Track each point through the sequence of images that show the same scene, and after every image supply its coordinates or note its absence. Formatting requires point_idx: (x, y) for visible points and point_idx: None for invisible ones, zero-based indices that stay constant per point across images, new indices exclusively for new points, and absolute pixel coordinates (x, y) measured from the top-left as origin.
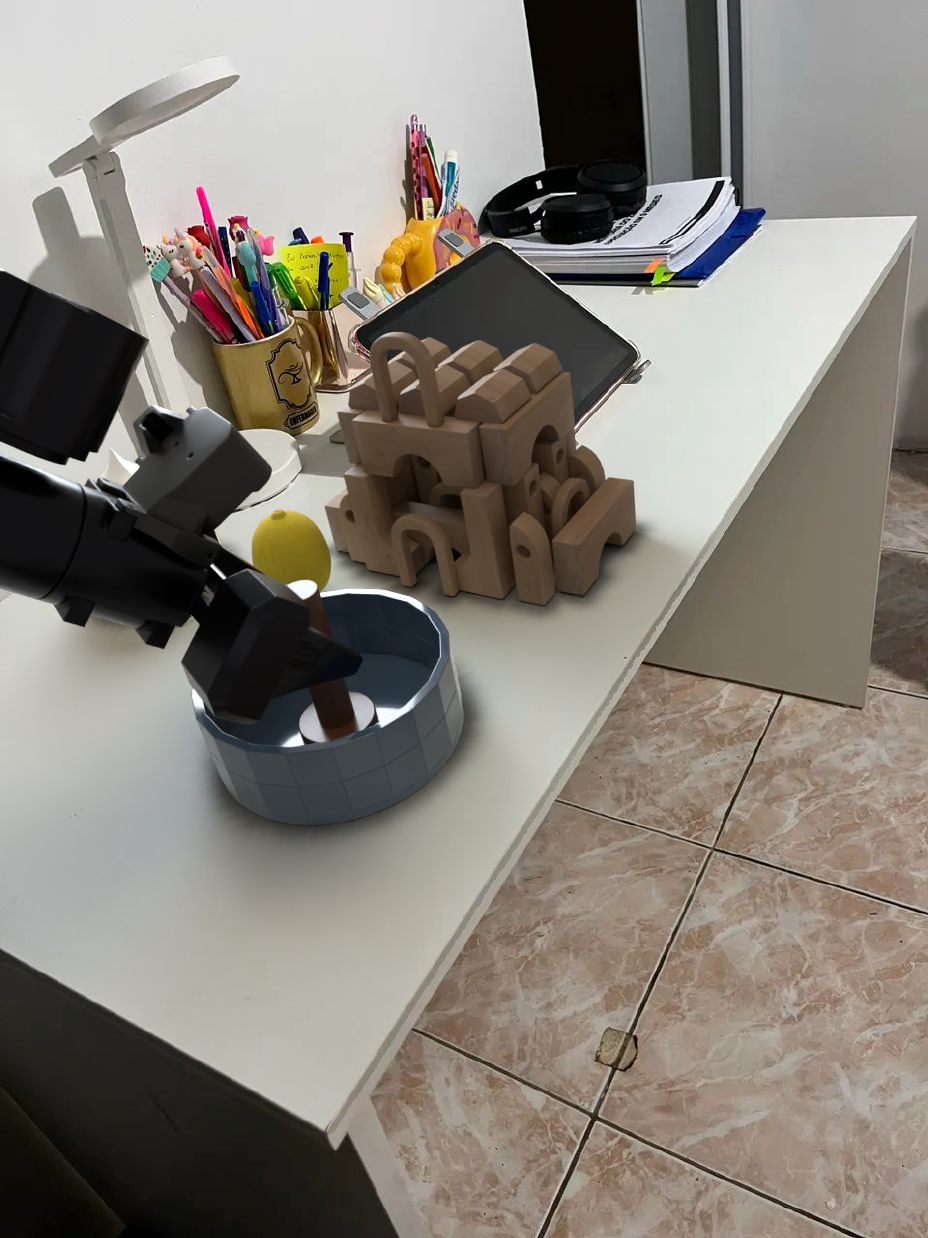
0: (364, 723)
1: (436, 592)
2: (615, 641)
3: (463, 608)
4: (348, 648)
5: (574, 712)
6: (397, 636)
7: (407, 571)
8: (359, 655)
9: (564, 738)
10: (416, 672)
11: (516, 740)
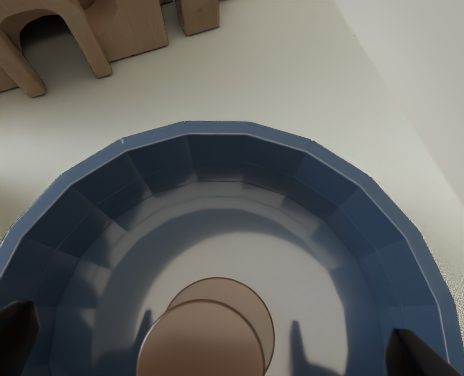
0: (262, 315)
1: (83, 81)
2: (326, 24)
3: (140, 81)
4: (432, 362)
5: (391, 120)
6: (161, 177)
7: (32, 78)
8: (418, 337)
9: (419, 153)
10: (209, 196)
11: (388, 189)
